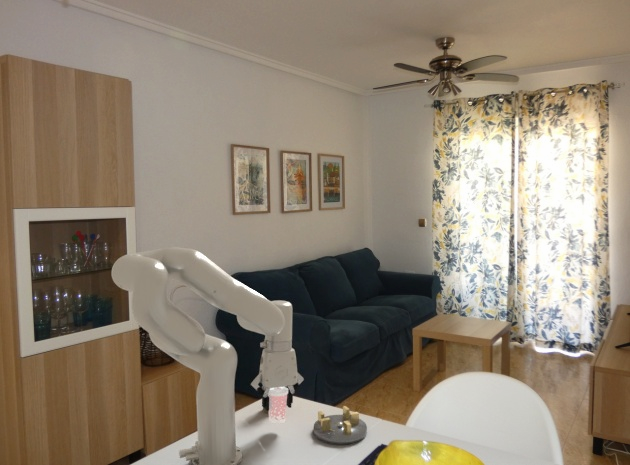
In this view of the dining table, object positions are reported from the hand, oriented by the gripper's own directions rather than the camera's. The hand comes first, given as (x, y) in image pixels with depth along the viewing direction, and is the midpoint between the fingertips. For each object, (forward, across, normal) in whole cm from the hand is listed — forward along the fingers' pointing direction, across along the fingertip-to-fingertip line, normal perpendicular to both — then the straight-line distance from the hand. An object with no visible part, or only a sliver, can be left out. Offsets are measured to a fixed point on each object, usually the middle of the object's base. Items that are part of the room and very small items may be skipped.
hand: (277, 407), depth 144 cm
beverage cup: (+4, 0, 0) cm, 4 cm away
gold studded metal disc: (+7, +16, -8) cm, 19 cm away
